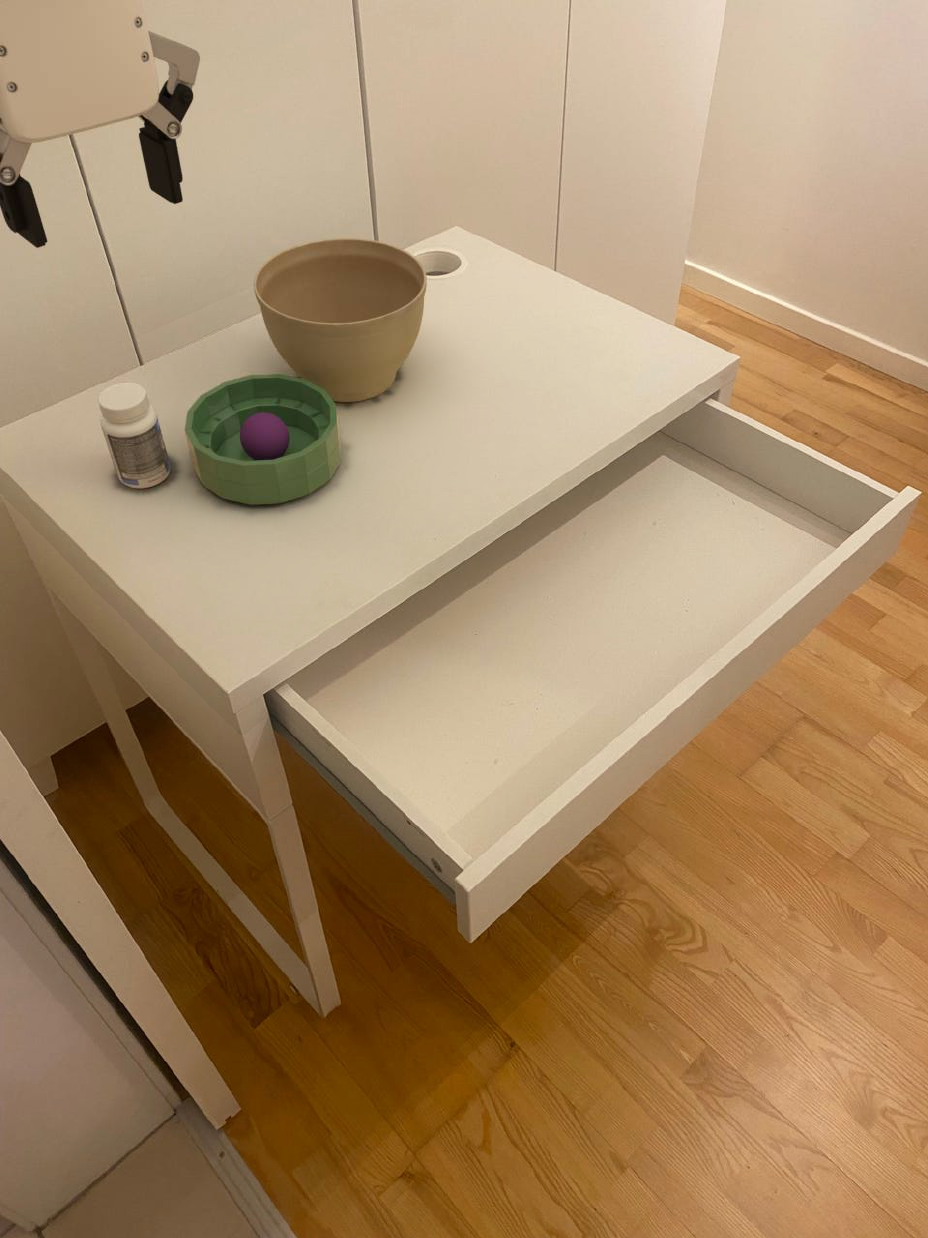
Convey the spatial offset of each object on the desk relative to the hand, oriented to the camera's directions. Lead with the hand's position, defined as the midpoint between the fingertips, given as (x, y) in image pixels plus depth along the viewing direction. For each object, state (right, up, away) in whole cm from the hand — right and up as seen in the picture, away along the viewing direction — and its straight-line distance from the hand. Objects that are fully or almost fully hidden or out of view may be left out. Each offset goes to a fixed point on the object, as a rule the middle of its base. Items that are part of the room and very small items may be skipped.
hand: (101, 216), depth 63 cm
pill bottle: (-5, -13, +25) cm, 28 cm away
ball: (+6, -10, +24) cm, 26 cm away
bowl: (+6, -12, +26) cm, 29 cm away
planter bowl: (+12, -2, +35) cm, 37 cm away
